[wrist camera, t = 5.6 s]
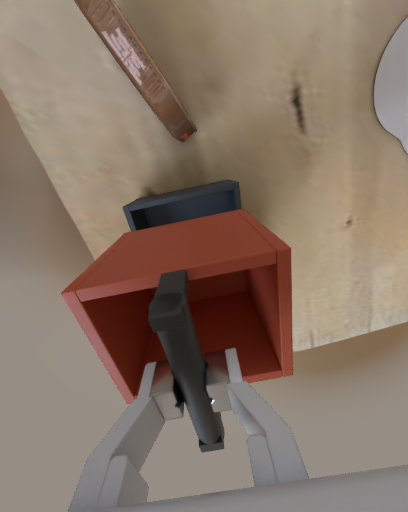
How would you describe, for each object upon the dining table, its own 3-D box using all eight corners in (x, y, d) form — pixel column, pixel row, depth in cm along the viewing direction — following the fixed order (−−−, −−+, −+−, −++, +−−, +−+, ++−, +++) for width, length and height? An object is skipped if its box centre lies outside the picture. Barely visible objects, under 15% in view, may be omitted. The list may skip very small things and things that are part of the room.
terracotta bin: (243, 208, 18) (335, 282, 6) (252, 291, 21) (321, 433, 10) (124, 233, 18) (3, 345, 7) (153, 310, 22) (109, 468, 10)
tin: (198, 134, 27) (200, 119, 19) (180, 150, 27) (175, 142, 20) (112, 5, 21) (67, -88, 14) (93, 28, 22) (39, -47, 14)
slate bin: (229, 179, 29) (238, 182, 23) (238, 252, 34) (249, 271, 28) (137, 199, 30) (122, 206, 23) (159, 268, 34) (152, 290, 28)
